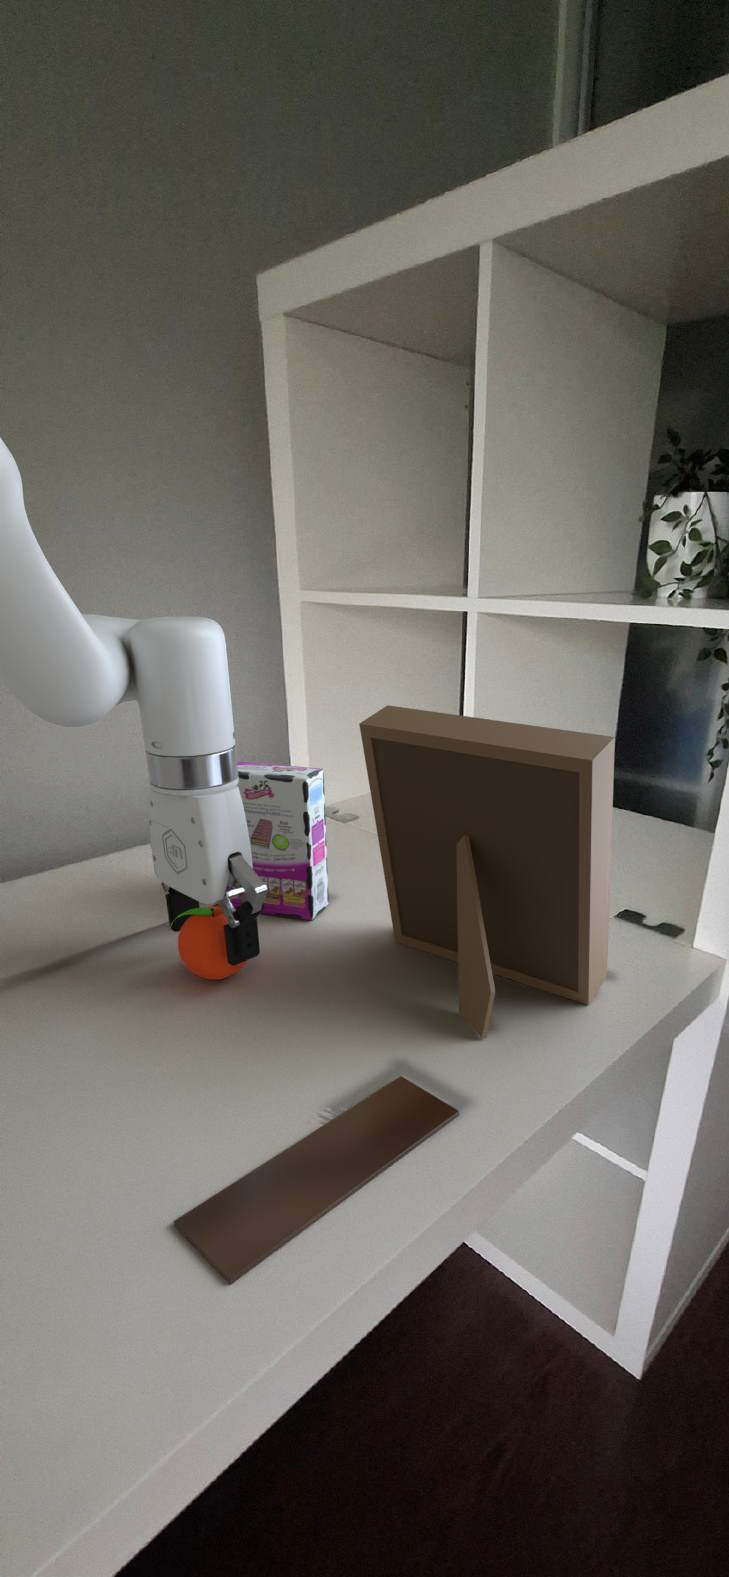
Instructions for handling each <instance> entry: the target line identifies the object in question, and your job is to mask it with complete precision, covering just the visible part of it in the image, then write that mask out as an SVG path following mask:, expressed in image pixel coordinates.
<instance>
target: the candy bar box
mask: <svg viewBox="0 0 729 1577" xmlns="http://www.w3.org/2000/svg"><path fill="white" fill-rule="evenodd" d="M237 766H238V777H239V783H238V784H237V786H238V787H239V791H240V795H241V799H242V803H243V807H244V812H245V817H246V822H247V828H248V834H249V840H250V847H251V855H252V864H253V870H254V871H255V872H256V873H257V875H258V876H259V877H260V878H261V879H262V880H263V882H264V883H265V884H266V885H267V888H268V892H267V895H266V898H265V901H264V909H263V911H262V912H261V913H260V914H265V915H271V916H278V917H285V918H293V919H299V920H306V921H314V920H315V919H316V918H317V917H318V916H319V915H320V914H321V913H322V912H323V911H324V910H326V909H327V907H328V906H329V904H330V899H329V898H330V897H329V896H330V895H329V877H328V876H329V875H328V874H329V872H328V850H327V849H328V847H327V846H328V845H327V825H326V824H327V822H326V803H325V802H326V798H325V797H326V796H325V773H324V772H325V770H324V768H319V767H307V766H300V765H299V766H298V765H284V764H271V763H261V762H247V761H237ZM232 889H234V888H233V887H230V886H227V888H226V891H229V890H232ZM230 902H231V903H232V905H233V907H234V909H235V911H236V910H237V909H238V907H239V906H240V905H241V904H242V901H241V899H240V897H236V898H234V899H231V900H230Z"/></svg>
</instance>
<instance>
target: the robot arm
mask: <svg viewBox="0 0 729 1577" xmlns="http://www.w3.org/2000/svg"><path fill="white" fill-rule="evenodd" d="M23 491H24V490H23V481H22V475H21V473H20V470H19V467H18V464H17V462H16V460H15V458H14V456H13V455H12V453H11V451H10V450H9V448H8V447H7V445H6V444H5V442H4V440H3V439H2V437H0V680H1V682H3V684H4V685H5V686H6V687H7V689H8V690H9V692H10V693H11V694H12V695H13V696H14V697H15V698H16V699H17V700H18V701H19V702H20V703H21V704H22V705H23V706H24V707H25V708H26V709H27V710H29V711H30V712H31V713H32V714H33V715H35V716H37V717H38V718H40V719H42V720H43V721H45V722H48V723H51V724H54V725H56V726H62V727H65V728H78V727H85V726H88V725H91V724H93V723H96V722H98V721H100V720H102V718H104V717H106V716H107V715H108V714H109V713H110V712H111V711H112V710H113V709H114V708H115V707H116V706H118V705H121V704H123V703H126V702H131V701H132V702H133V701H136V703H137V704H138V708H139V715H140V724H141V730H142V737H143V744H144V745H143V746H144V750H145V759H146V765H147V766H146V767H147V772H148V780H149V786H148V822H149V824H148V825H149V835H150V838H149V839H150V843H149V844H150V847H151V856H152V857H151V858H152V864H153V871H154V874H155V876H156V878H157V879H158V880H159V881H160V882H161V884H160V885H161V889H162V891H163V893H165V894H164V897H165V901H166V902H165V903H166V910H167V917H168V924H169V929H170V931H172V932H174V933H178V932H180V930H181V927H182V926H183V924H184V923H185V922H186V920H187V919H188V918H189V917H190V916H191V915H193V914H188V915H183V916H180V917H178V916H179V915H180V914H182V913H184V912H186V911H188V910H191V909H195V908H201V907H200V903H201V904H203V905H206V906H212V905H215V904H216V903H217V904H218V907H220V908H221V910H222V912H223V914H224V916H225V918H226V920H227V922H228V924H227V925H224V934H225V943H226V952H227V961H228V963H229V964H231V965H232V966H235V965H237V964H240V963H242V962H244V961H247V962H248V960H251V959H253V958H255V957H258V956H259V955H260V952H261V948H260V938H259V937H260V936H259V928H258V926H259V925H258V919H260V918H261V914H262V913H261V912H262V911H263V909H264V901H265V898H266V895H267V892H268V888H267V885H266V884H265V883H264V882H263V880H262V879H261V878H260V877H259V876H258V875H257V873H256V872H255V871H254V870H253V864H252V855H251V847H250V840H249V834H248V828H247V822H246V817H245V812H244V807H243V803H242V799H241V795H240V791H239V787H238V786H237V784H238V783H239V777H238V766H237V762H238V757H237V746H236V737H235V725H234V716H233V715H234V714H233V705H232V693H231V692H232V691H231V684H230V673H229V663H228V662H229V661H228V652H227V643H226V635H225V632H224V630H223V628H222V626H221V625H220V624H219V623H218V622H217V621H216V620H214V619H212V618H208V617H205V616H204V617H203V616H194V615H193V616H192V615H170V616H169V615H168V616H155V617H149V618H143V619H137V618H125V617H119V616H109V615H102V614H101V615H100V614H91V613H81V611H80V609H79V608H78V607H77V606H76V604H75V602H74V601H73V599H72V598H71V596H70V595H69V593H68V592H67V590H66V589H65V587H64V586H63V584H62V583H61V581H60V579H59V578H58V576H57V574H56V573H55V571H54V570H53V568H52V566H51V565H50V563H49V561H48V560H47V558H46V556H45V554H44V552H43V550H42V548H41V546H40V544H39V542H38V541H37V538H36V536H35V533H34V531H33V528H32V526H31V524H30V521H29V518H28V515H27V511H26V507H25V501H24V500H25V499H24V492H23ZM227 886H230V887H233V888H234V889H232V890H229V891H226V888H227ZM236 897H240V899H241V901H242V904H241V905H240V906H239V907H238V909H237V910H236V909H234V907H233V905H232V903H231V902H230V900H231V899H234V898H236ZM177 917H178V918H177ZM172 922H173V924H172V926H171V923H172ZM170 926H171V928H170Z"/></svg>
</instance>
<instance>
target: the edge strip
mask: <svg viewBox="0 0 729 1577" xmlns="http://www.w3.org/2000/svg"><path fill="white" fill-rule="evenodd" d="M459 1116H460V1110H458V1109H457V1108H455V1107H453V1106H452V1105H450V1104H449V1103H447V1102H445V1101H444V1100H442V1099H440V1098H438V1097H437V1096H436V1095H434V1094H431V1093H430V1092H428V1091H427V1090H426V1089H423V1088H422V1087H420V1086H418V1085H417V1084H415V1083H414V1082H413V1081H410V1080H408V1079H407V1078H405V1077H404V1076H402V1075H400V1076H399V1077H397V1078H395V1079H394V1080H392V1081H390V1082H389V1083H387V1084H386V1085H384V1086H383V1087H381V1088H379V1089H378V1090H376V1091H375V1092H373V1093H372V1094H370V1095H368V1096H367V1097H365V1098H364V1099H363V1100H361V1101H360V1102H358V1103H356V1104H355V1105H353V1106H351V1107H350V1108H348V1109H347V1110H345V1111H344V1112H342V1113H341V1114H339V1115H338V1116H336V1117H334V1118H332V1119H331V1120H330V1121H328V1122H326V1123H325V1124H323V1125H322V1126H320V1127H319V1128H317V1129H316V1130H314V1131H312V1132H311V1133H309V1134H308V1135H306V1136H305V1137H303V1138H301V1139H300V1140H298V1141H297V1142H295V1143H294V1144H292V1145H290V1146H289V1147H287V1148H286V1149H284V1150H283V1151H281V1152H279V1153H278V1154H276V1155H275V1156H273V1157H272V1158H270V1159H268V1160H267V1161H266V1162H264V1163H262V1164H260V1165H259V1166H258V1167H255V1168H254V1169H253V1170H251V1171H250V1172H248V1173H247V1174H245V1175H244V1176H242V1177H241V1178H239V1179H236V1181H234V1182H233V1183H231V1184H230V1185H228V1186H226V1187H225V1188H223V1189H222V1190H220V1191H218V1192H217V1193H216V1194H214V1195H212V1196H211V1197H209V1198H207V1199H206V1200H205V1201H203V1202H201V1203H200V1204H199V1205H196V1207H194V1208H192V1209H190V1210H189V1211H187V1212H186V1213H184V1214H182V1215H181V1216H180V1217H178V1218H176V1219H174V1221H173V1226H174V1227H175V1228H176V1229H177V1230H178V1232H180V1233H181V1234H182V1235H183V1237H184V1238H185V1239H187V1241H188V1242H189V1243H190V1244H191V1245H192V1246H193V1247H194V1248H195V1249H196V1250H197V1251H198V1252H199V1253H200V1254H201V1255H202V1257H204V1258H205V1260H207V1262H208V1263H209V1264H210V1265H211V1266H212V1267H213V1268H215V1270H216V1271H217V1272H218V1273H219V1274H220V1275H221V1276H222V1277H223V1278H224V1279H225V1280H226V1281H227V1282H228V1283H229V1284H230V1285H233V1283H235V1282H236V1281H238V1280H239V1279H240V1278H242V1277H243V1276H244V1275H246V1274H248V1272H250V1271H252V1269H254V1268H256V1266H258V1265H259V1264H261V1263H262V1262H263V1261H265V1260H266V1259H268V1258H269V1257H270V1256H271V1255H273V1254H274V1253H276V1252H277V1251H279V1249H281V1248H282V1247H284V1246H285V1245H286V1244H288V1243H289V1242H290V1241H292V1240H293V1239H294V1238H296V1237H297V1236H299V1235H300V1234H301V1233H303V1232H304V1231H305V1230H306V1229H308V1228H309V1227H311V1226H312V1225H313V1224H314V1223H316V1222H317V1221H319V1220H320V1219H321V1218H323V1217H324V1216H326V1215H327V1214H328V1213H329V1212H331V1211H333V1209H335V1208H337V1206H339V1205H340V1204H342V1203H343V1202H345V1201H346V1200H347V1199H348V1198H349V1197H351V1196H352V1195H354V1194H356V1192H358V1191H359V1190H361V1189H362V1188H363V1187H364V1186H366V1185H367V1184H369V1183H370V1182H371V1181H373V1180H374V1179H375V1178H377V1177H378V1176H380V1175H381V1174H383V1173H384V1172H385V1171H386V1170H388V1169H389V1168H390V1167H392V1166H393V1165H394V1164H396V1163H397V1162H398V1161H399V1160H401V1159H403V1158H404V1157H405V1156H406V1155H408V1154H409V1153H411V1152H412V1151H413V1150H414V1149H416V1148H417V1147H419V1146H420V1145H421V1144H422V1143H424V1142H425V1141H426V1140H428V1139H429V1138H431V1137H432V1136H434V1134H436V1133H437V1132H439V1131H440V1130H442V1129H443V1128H444V1127H446V1126H447V1125H448V1124H450V1123H451V1122H452V1121H454V1120H455V1119H456V1118H457V1117H459Z"/></svg>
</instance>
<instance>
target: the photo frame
mask: <svg viewBox="0 0 729 1577" xmlns="http://www.w3.org/2000/svg"><path fill="white" fill-rule="evenodd" d="M359 731H360V737H361V743H362V749H363V755H364V761H365V768H366V773H367V778H368V779H367V780H368V785H369V792H370V797H371V805H372V809H373V815H374V821H375V827H376V828H375V829H376V834H377V840H378V846H379V851H380V857H381V864H382V870H383V875H384V882H385V887H386V893H387V894H386V895H387V900H388V905H389V912H390V918H391V923H392V929H393V930H392V931H393V937H394V942H396V943H398V944H402V945H405V946H408V947H411V948H414V949H417V950H420V951H423V952H426V953H429V954H432V955H435V956H438V957H441V958H445V959H447V960H451V961H453V960H454V961H453V962H456V961H457V962H456V963H457V967H458V972H457V973H458V1014H459V1015H460V1016H461V1017H462V1018H463V1019H464V1020H465V1022H467V1024H468V1025H469V1026H470V1027H471V1028H472V1029H473V1030H474V1031H475V1033H477V1035H478V1036H479V1037H480V1038H481V1039H486V1038H487V1036H488V1032H489V1027H490V1022H491V1021H490V1020H491V1016H492V1011H493V1006H494V1003H495V1002H494V1001H495V998H496V988H495V982H494V975H495V974H497V975H496V976H498V975H500V976H499V977H501V976H502V977H501V978H504V977H505V979H507V978H510V979H512V980H511V981H513V980H515V981H514V982H516V983H520V984H523V985H526V984H527V985H526V986H528V987H532V988H534V989H538V990H540V991H543V992H547V993H550V994H553V995H557V996H560V997H562V996H563V997H562V998H565V997H566V998H565V999H567V1000H568V999H569V1000H571V1001H573V1002H574V1001H575V1002H577V1003H581V1004H583V1005H587V1006H589V1005H590V1004H591V1002H592V1001H593V999H594V997H595V996H596V995H597V993H598V992H599V990H600V989H601V987H602V985H603V984H604V982H605V981H606V979H607V977H608V957H609V955H608V954H609V930H610V929H609V928H610V927H609V926H610V925H609V924H610V899H611V898H610V894H611V871H612V870H611V867H612V866H611V865H612V862H611V861H612V840H613V839H612V837H613V836H612V835H613V806H614V778H615V777H614V776H615V775H614V774H615V749H616V748H615V747H616V746H615V745H616V737H615V736H612V735H611V736H610V735H603V734H598V733H597V734H596V733H588V732H582V731H576V730H575V731H574V730H568V729H561V728H553V727H546V726H539V725H531V724H524V723H517V722H509V721H502V720H497V719H496V720H495V719H489V718H481V717H476V716H475V717H473V716H467V715H460V714H452V713H446V712H439V711H438V712H437V711H433V710H431V711H430V710H423V709H418V708H417V709H416V708H410V707H402V706H396V705H389V704H388V705H386V706H384V707H382V708H381V709H380V710H378V711H376V712H375V713H373V714H372V715H370V716H369V717H367V718H365V719H364V720H363V721H361V722H359ZM492 973H494V974H492ZM510 979H509V980H510Z"/></svg>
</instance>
